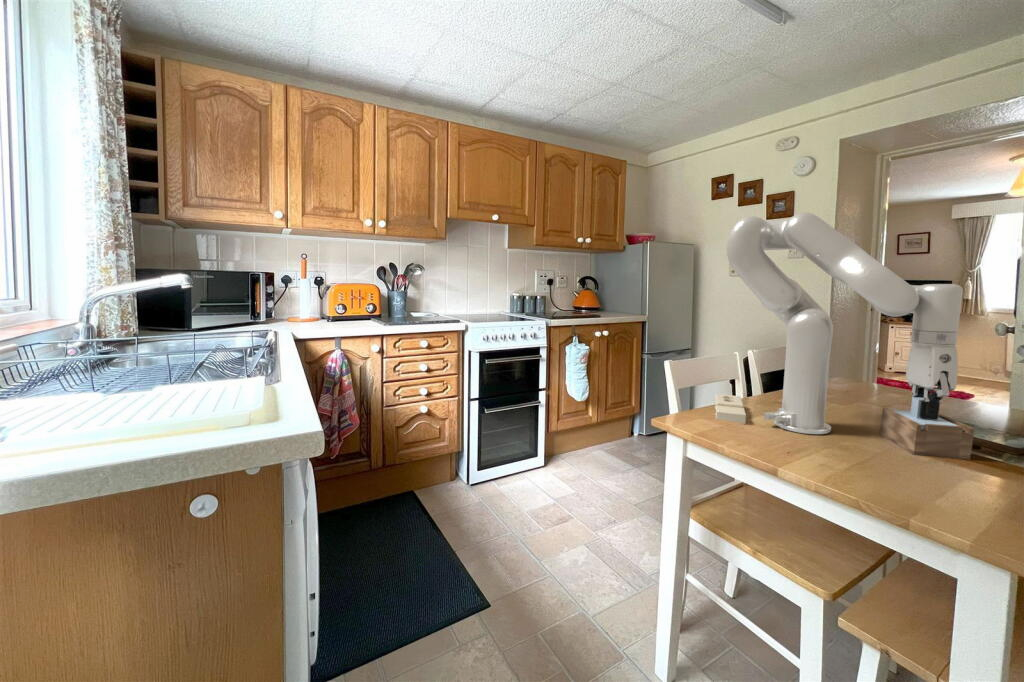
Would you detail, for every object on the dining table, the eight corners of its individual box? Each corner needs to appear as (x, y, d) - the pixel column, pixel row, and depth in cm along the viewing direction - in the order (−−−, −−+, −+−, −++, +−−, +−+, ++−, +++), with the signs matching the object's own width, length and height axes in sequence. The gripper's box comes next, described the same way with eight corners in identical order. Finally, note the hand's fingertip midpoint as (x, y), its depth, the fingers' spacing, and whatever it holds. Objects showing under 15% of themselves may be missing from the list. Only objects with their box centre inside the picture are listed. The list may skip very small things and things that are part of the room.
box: (970, 459, 92) (974, 428, 91) (913, 454, 95) (917, 424, 94) (928, 437, 106) (931, 410, 105) (879, 433, 108) (882, 407, 108)
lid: (960, 432, 93) (964, 407, 93) (920, 429, 95) (923, 404, 95) (925, 416, 105) (928, 393, 104) (890, 414, 107) (892, 391, 106)
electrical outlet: (717, 408, 119) (715, 393, 135) (716, 422, 120) (714, 406, 136) (746, 411, 116) (741, 395, 132) (745, 426, 117) (740, 408, 133)
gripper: (980, 343, 89) (969, 428, 91) (930, 334, 104) (921, 408, 106) (936, 342, 91) (926, 425, 93) (893, 334, 106) (885, 406, 109)
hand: (923, 415), depth 100 cm, fingers closed on lid, 2 cm apart
